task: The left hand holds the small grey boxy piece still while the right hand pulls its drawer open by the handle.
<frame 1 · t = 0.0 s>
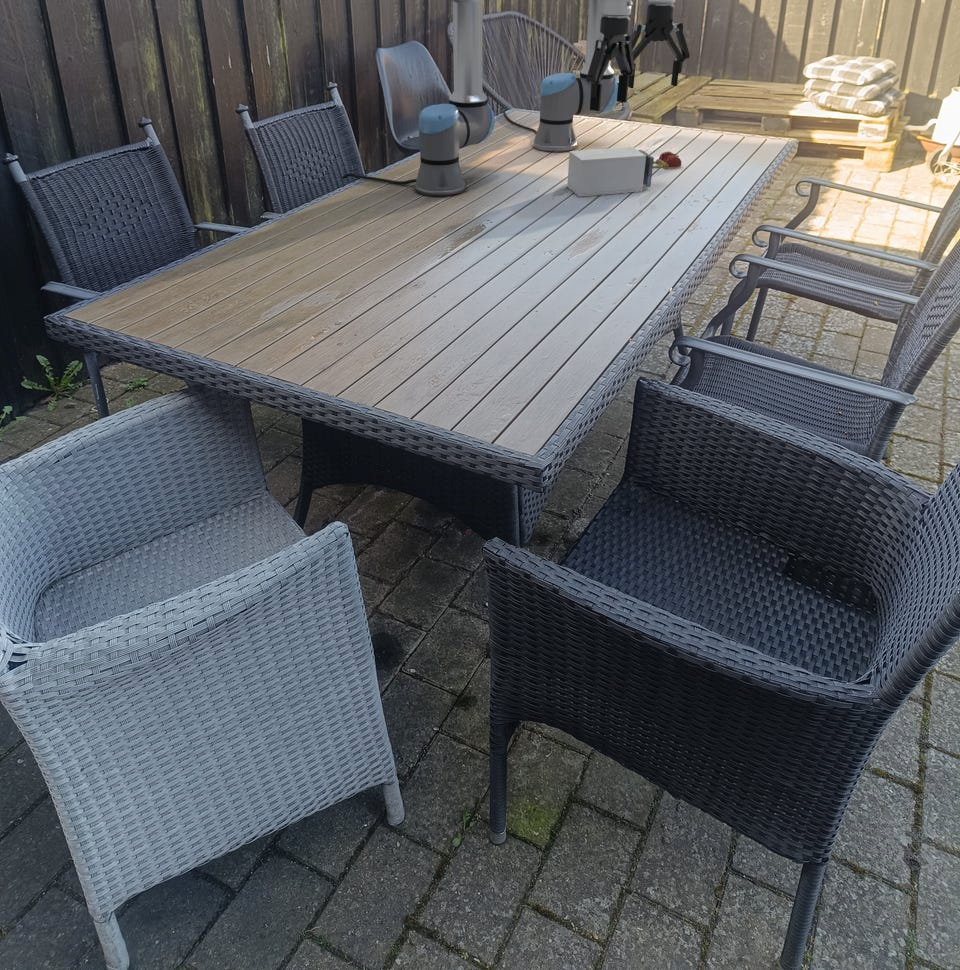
left hand: (608, 106, 226), 28 cm above the table, tool pointing down, fingers open, 13 cm apart
right hand: (652, 86, 247), 28 cm above the table, tool pointing down, fingers open, 13 cm apart
drawer: (626, 169, 257), point 5 cm above the table, slide at 1.7 cm
grey boxy piece: (604, 189, 259), on the table
dental model: (669, 165, 280), on the table
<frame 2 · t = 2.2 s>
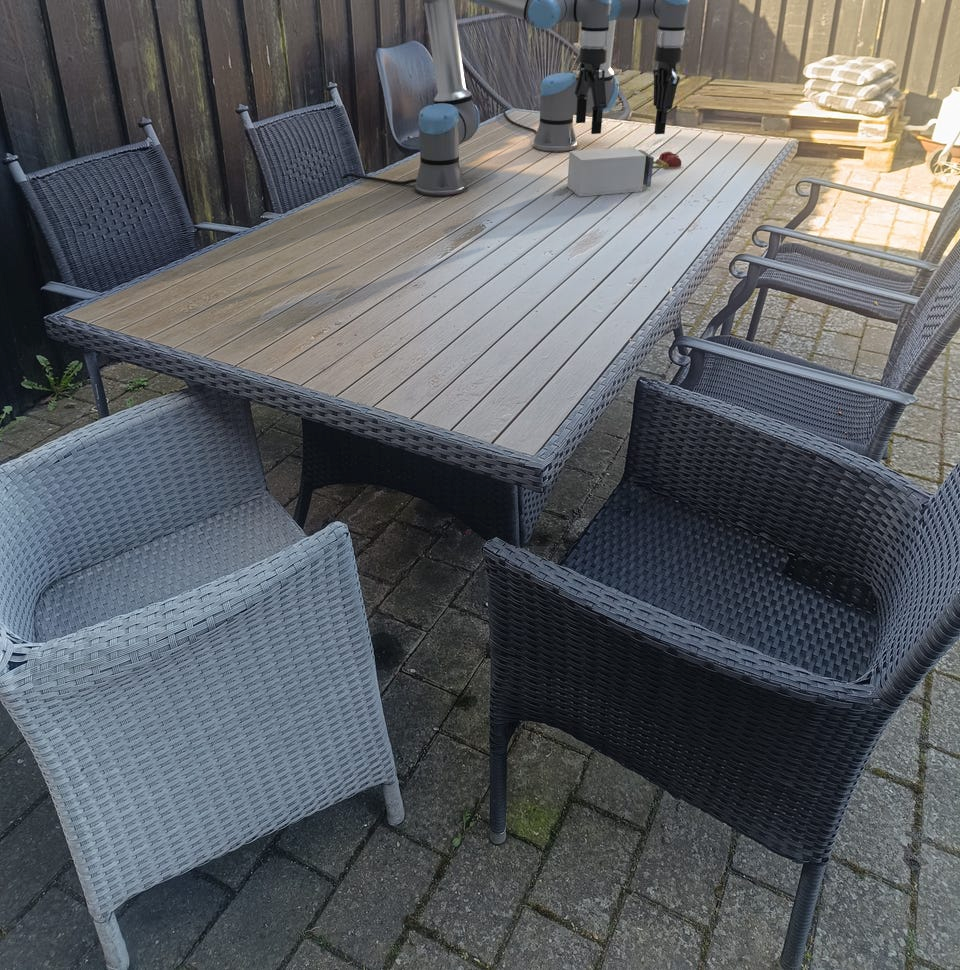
left hand: (588, 128, 246), 18 cm above the table, tool pointing down, fingers open, 13 cm apart
right hand: (659, 133, 254), 15 cm above the table, tool pointing down, fingers closed
nothing on the table moved.
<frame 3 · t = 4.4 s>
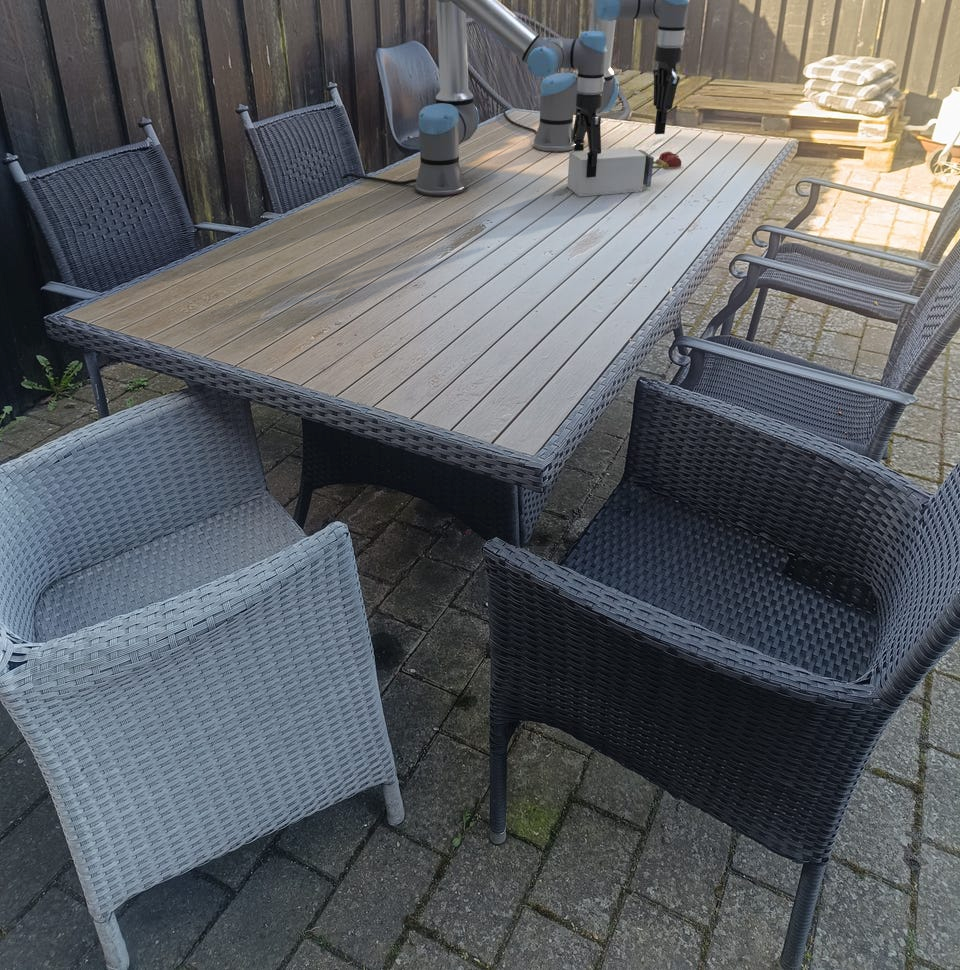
left hand: (584, 171, 254), 6 cm above the table, tool pointing down, fingers closed on grey boxy piece, 10 cm apart
right hand: (659, 133, 254), 15 cm above the table, tool pointing down, fingers closed
grey boxy piece: (604, 189, 259), on the table, touching left hand
everything else where it was.
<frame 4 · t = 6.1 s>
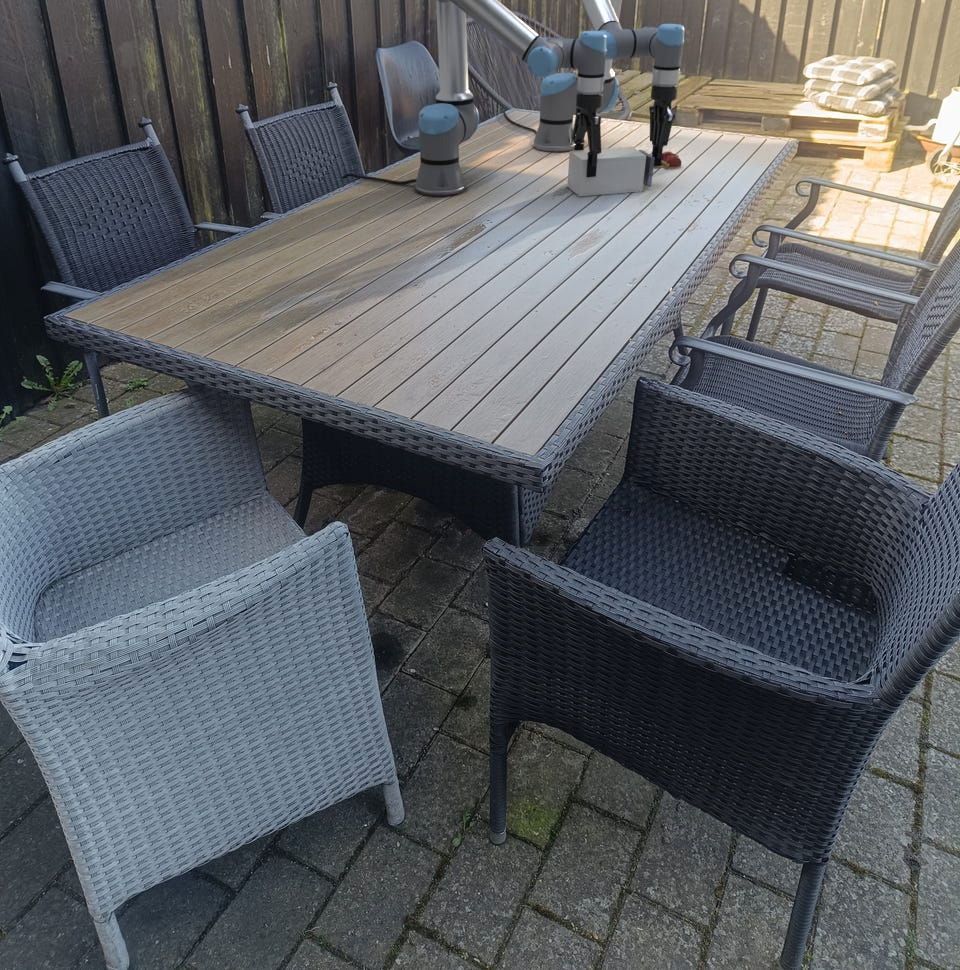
left hand: (584, 171, 254), 6 cm above the table, tool pointing down, fingers closed on grey boxy piece, 10 cm apart
right hand: (655, 168, 259), 5 cm above the table, tool pointing down, fingers closed
grey boxy piece: (604, 189, 259), on the table, touching left hand
everything else where it was.
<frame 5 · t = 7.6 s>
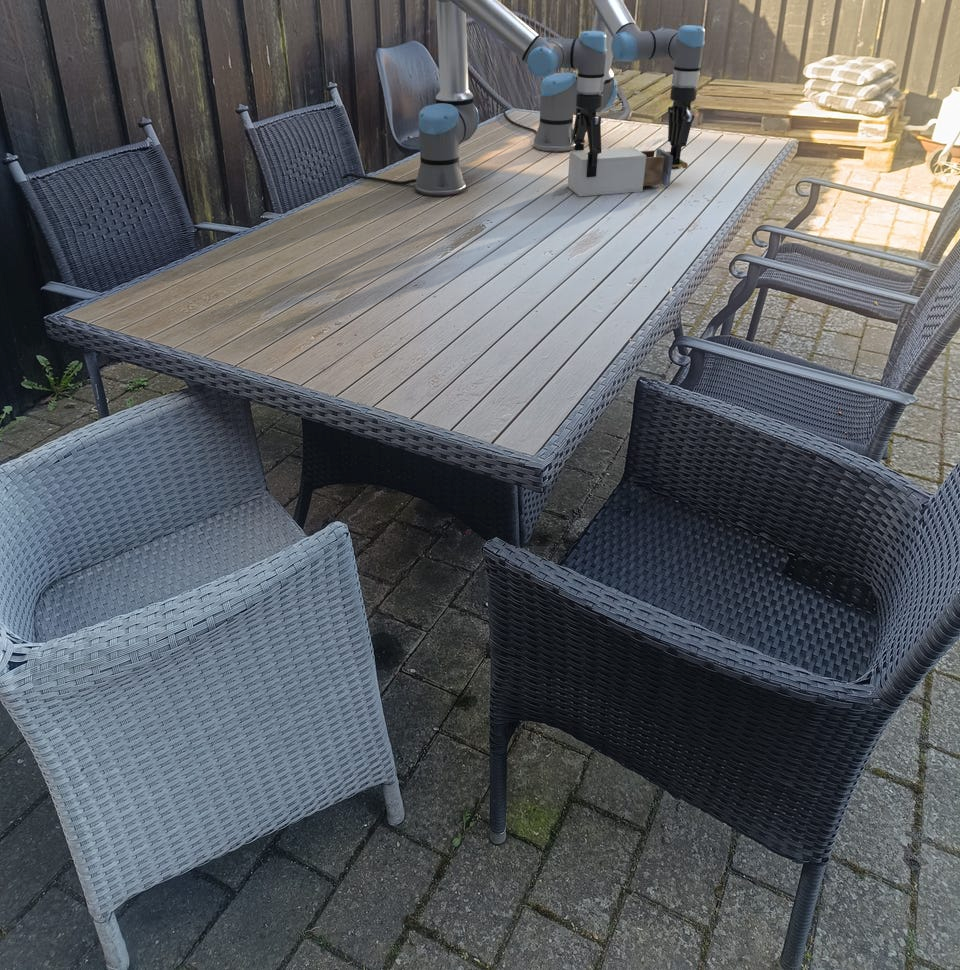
left hand: (584, 171, 254), 6 cm above the table, tool pointing down, fingers closed on grey boxy piece, 10 cm apart
right hand: (673, 168, 261), 5 cm above the table, tool pointing down, fingers closed
drawer: (645, 168, 259), point 5 cm above the table, slide at 7.9 cm, touching right hand
grey boxy piece: (604, 188, 259), on the table, touching left hand
everything else where it was.
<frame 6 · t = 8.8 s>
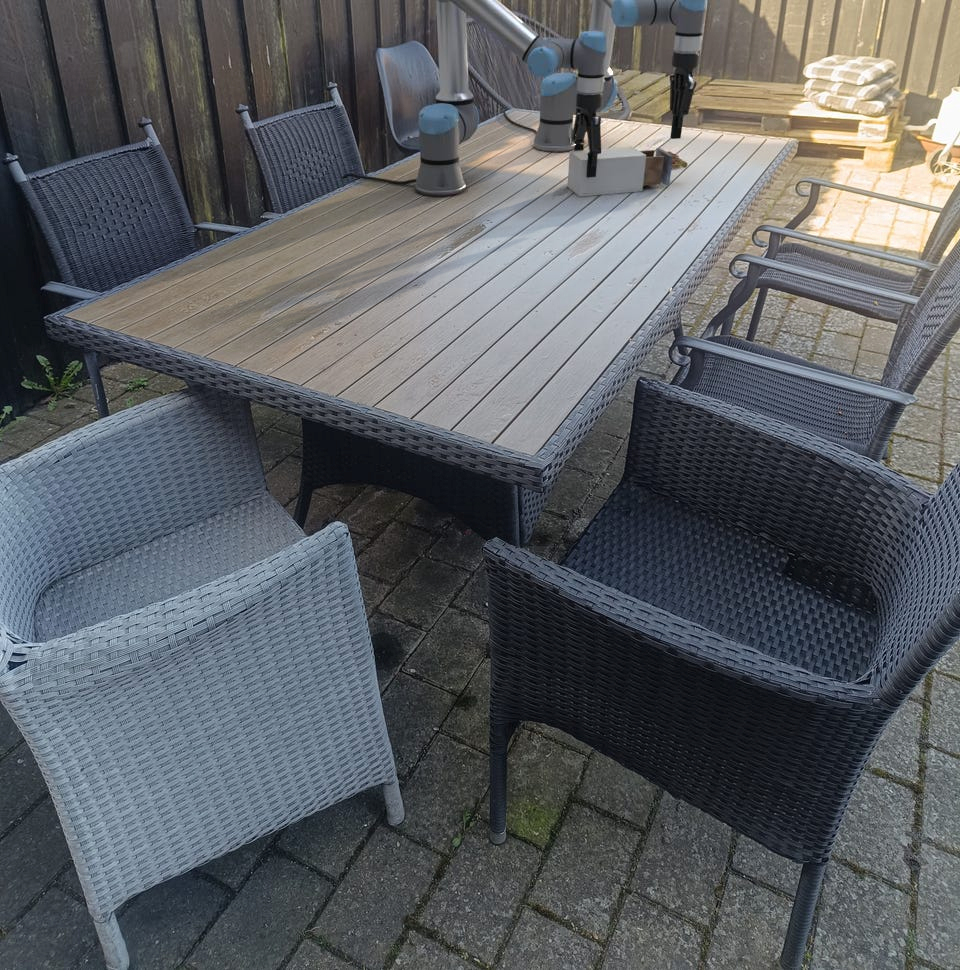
left hand: (584, 171, 254), 6 cm above the table, tool pointing down, fingers closed on grey boxy piece, 10 cm apart
right hand: (675, 138, 256), 14 cm above the table, tool pointing down, fingers closed
drawer: (644, 168, 259), point 5 cm above the table, slide at 7.9 cm
grey boxy piece: (604, 188, 259), on the table, touching left hand
everything else where it was.
when the left hand's fingers open (6 cm above the table, at t = 9.4 s): grey boxy piece stays where it is, on the table.
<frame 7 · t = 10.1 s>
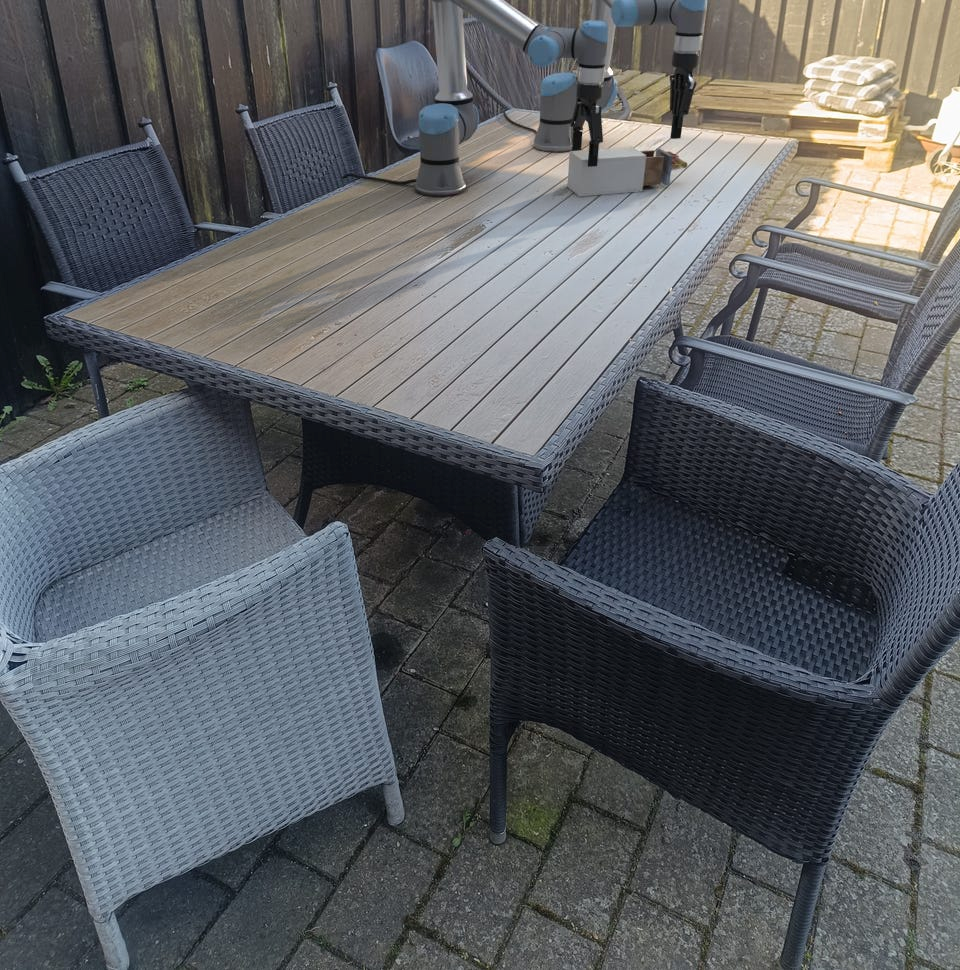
left hand: (584, 160, 252), 9 cm above the table, tool pointing down, fingers open, 13 cm apart
right hand: (675, 138, 256), 14 cm above the table, tool pointing down, fingers closed
grey boxy piece: (604, 189, 259), on the table
everything else where it was.
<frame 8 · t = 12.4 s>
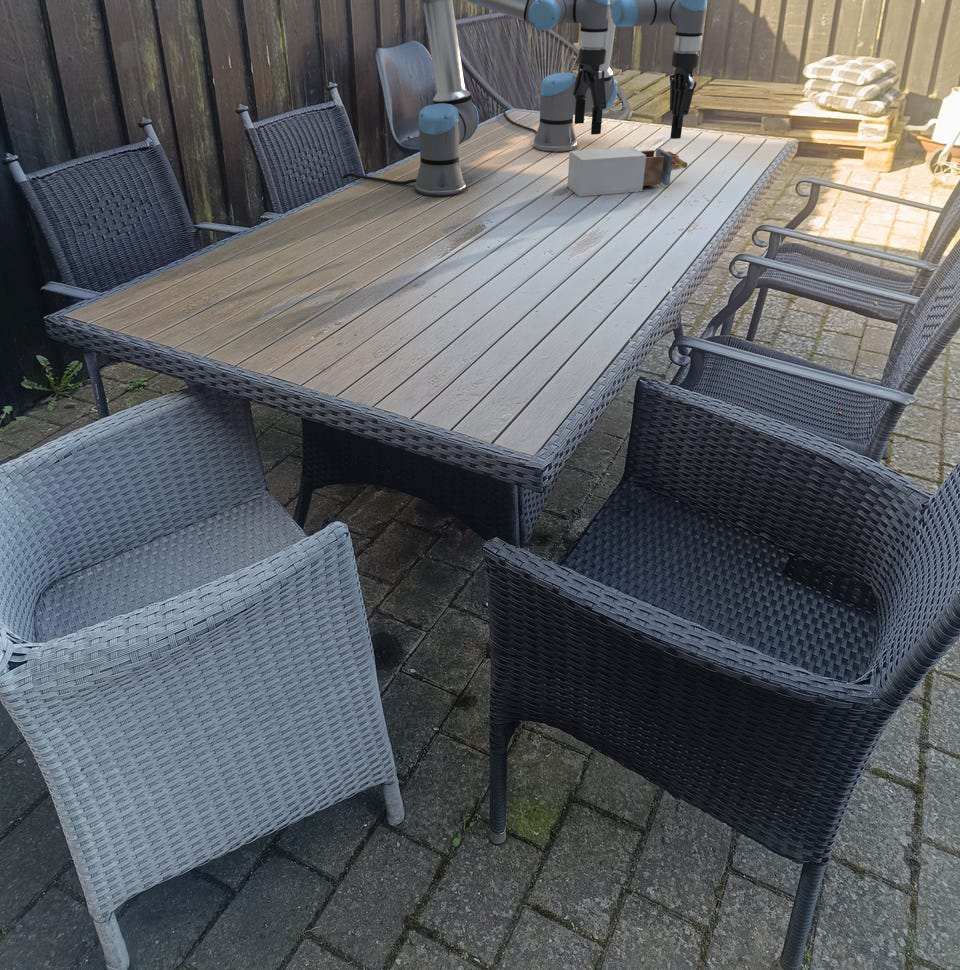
left hand: (587, 128, 247), 18 cm above the table, tool pointing down, fingers open, 13 cm apart
right hand: (675, 138, 256), 14 cm above the table, tool pointing down, fingers closed
nothing on the table moved.
at the end: drawer slide at 7.9 cm; grey boxy piece tilted 0°; grey boxy piece never tilted more than 1° during the clip; grey boxy piece moved 0.1 cm from its start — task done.
